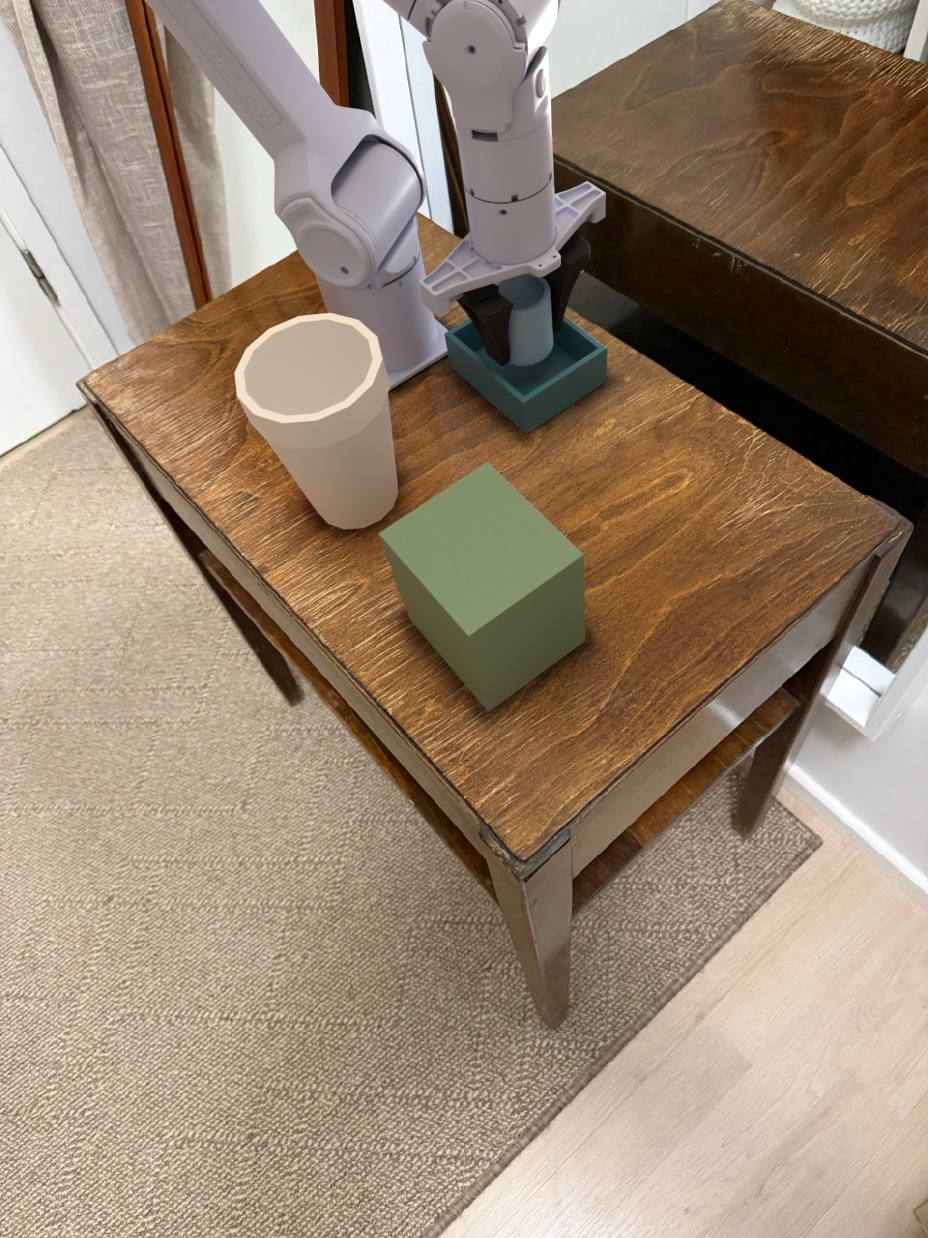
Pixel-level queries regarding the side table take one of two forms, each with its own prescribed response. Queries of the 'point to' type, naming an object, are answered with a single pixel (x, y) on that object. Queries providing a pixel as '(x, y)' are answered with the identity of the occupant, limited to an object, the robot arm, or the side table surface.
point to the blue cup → (528, 318)
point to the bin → (531, 373)
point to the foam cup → (325, 413)
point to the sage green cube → (489, 583)
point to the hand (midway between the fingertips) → (523, 341)
